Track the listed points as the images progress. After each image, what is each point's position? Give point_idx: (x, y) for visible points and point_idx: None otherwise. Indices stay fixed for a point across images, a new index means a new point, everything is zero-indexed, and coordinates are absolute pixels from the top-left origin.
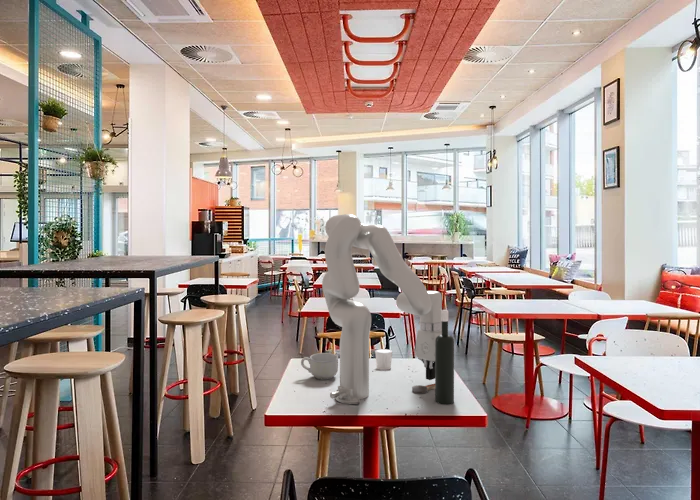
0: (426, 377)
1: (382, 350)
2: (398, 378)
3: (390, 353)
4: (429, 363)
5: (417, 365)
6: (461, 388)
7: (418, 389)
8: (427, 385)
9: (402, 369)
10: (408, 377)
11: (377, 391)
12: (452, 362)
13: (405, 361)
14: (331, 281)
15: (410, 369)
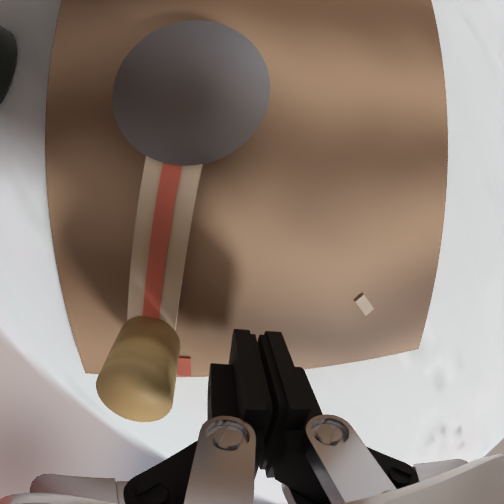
0: (273, 337)
1: None
2: (476, 317)
3: None
4: (305, 489)
5: None
6: (100, 415)
7: (165, 36)
8: (183, 221)
9: (477, 411)
10: (442, 368)
11: (450, 28)
12: None
13: (473, 455)
14: None
15: (452, 434)
